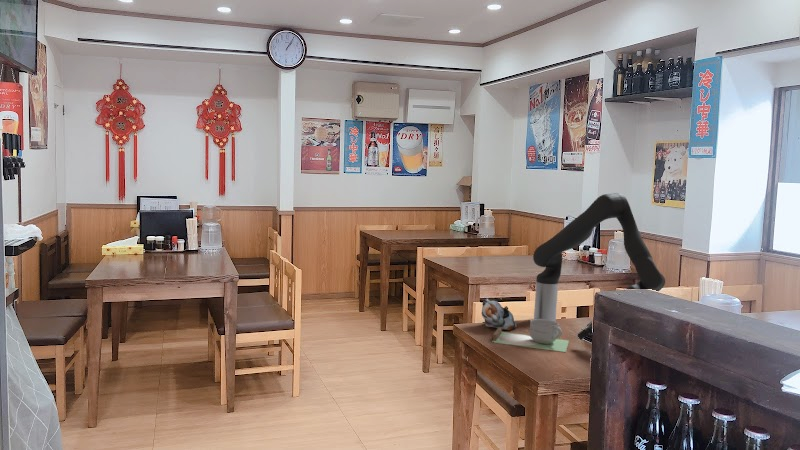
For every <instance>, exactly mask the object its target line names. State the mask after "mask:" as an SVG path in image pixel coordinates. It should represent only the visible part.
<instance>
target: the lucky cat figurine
mask: <svg viewBox="0 0 800 450" xmlns="http://www.w3.org/2000/svg"><path fill="white" fill-rule="evenodd" d="M481 316H482V318H483V319H484V324H485V327H486V328H494V329H498V328H499V327H501V328H502V330H505V331H508V332H511V331H513V330H515V329H517V327H518V326H517V322H515V318H514V315H513V313H512V312H511V311H510V310H509V307H508V306H507V305H505V306H504V307H503V306H502V305H501V304H500V302H499V301H497V300H490V298H484V299H482V307H481Z"/></svg>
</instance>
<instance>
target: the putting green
mask: <svg viewBox="0 0 800 450" xmlns="http://www.w3.org/2000/svg"><path fill="white" fill-rule="evenodd" d="M502 330H503V329H502V328H501V327H499V328H496V329H495V332H494V333H493V335H492V341H491V343H493V342H494V343H493V344H500V345H508V346H515V347H524V348H530V349H531V348H533V349H538V350H545V351H555V352H561V353H566V352H567V350H568V349H567V348H568V347H569V346H568V345H569V343H570V342H569V341H570V340H569V339H561V338H560V339H559V338H557V339H556V340H555V341H554V342H552V343H551V344H543V343H538V342H535V341H534V340H533V339H532V338H531V337H530V334H529V335H528V334H521V333H513V332H507V331H506V332H505V331H502Z"/></svg>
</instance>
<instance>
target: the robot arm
mask: <svg viewBox="0 0 800 450" xmlns="http://www.w3.org/2000/svg"><path fill="white" fill-rule="evenodd" d="M615 218H616V219H617V221H618V222H619V224H620V225H621V228H622V232H623V233H622V234H623V246H624V249H625V252H626V255H627V256H628V259H629V260H630V261H631V263H632V265H633V266H634V268H635V272H636V273H637V275H638V278H639V280H638V281H637V282H636V283H635V284H631V285H629V286H627V287H626V288H625V289H652V290H656V291H658V292H659V291H661V290H662V289H663V288H664V287H665V285H666V278H665V276H664V275H663V274H662V273H661V272H660V270H659V269H658V267H657V266H656V264H655V262H654V260H653V255H652V254H651V252H650V251H649V249H648V247H647V245H646V243H645V241H644V239H643V238H642V236H641V233H640V231H639V228H638V226H637V223H636V220H635V218H634V215H633V211H632V208H631V206H630V203H629V201H628V199H627V197H626V196H625V195H624V194H623V193H619V192H612V193H605V194H601V195H599V197H597V198H596V199H595V200H594V201H593V202H592V203H591V205H590V206H588V207H587V209H586V210H585V211H583V212H582V213H580V214H579V215H578V216H577V217H576V218H574V219H573V220H572V221H571V222H569V223H568V224H567V225H566V226H564V228H562V229H561V230H559V232H557V233H556V234H555V235H553V237H552V238H550V239H548V240H547V241H545V242H543V243H541V245H538V246H537V247H536V249H535V250H534V252H533V255H532V257H533V259H532V260H533V262H534V264H535V265H536V266H538V267H541V268H545V269H543V271H542V272H540V273H538V274H537V275H536V280H535V281H536V283H535V297H534V308H533V310H534V311H533V312H534V313H533V319H544V320H550V321H554V322H557V321H556V319H557V318H556V317H557V307H558V306H557V305H558V291H559V288H558V287H559V280H560V278H561V272H562V267H563V253H564V252H566V251H569V250H572V249H574V248H576V247H578V246H580V245H581V244H583V243H584V242H585V241H587V240H588V239H589V238H590V237H591V236H592V233H593V231H594V228H595V227H596V226H597V225H599V224H601V223H602V222H604V221H606V220H609V219H615ZM592 334H593V333H592V320H591V321H590V322H589V323H588V324H586V326H585V327H584V329H582V330H581V331H580V332H578V333H577V338H578V339H580V341H581V340H583V339H584V338H586V337H587V336H589V335H592Z"/></svg>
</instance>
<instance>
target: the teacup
mask: <svg viewBox="0 0 800 450" xmlns="http://www.w3.org/2000/svg"><path fill="white" fill-rule="evenodd" d="M529 323H530V324H529V336H530V337H531V338H532V339H533V340H534V341H535V342H538V343H543V344H551V343H552V342H554V341H555V340H556V339H559V338H560V337H562V334H563V330H562V328H561V327H560V323H559V322H557V321H555V322H554V321H550V320H544V319H534V318H533V319H530V320H529Z"/></svg>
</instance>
